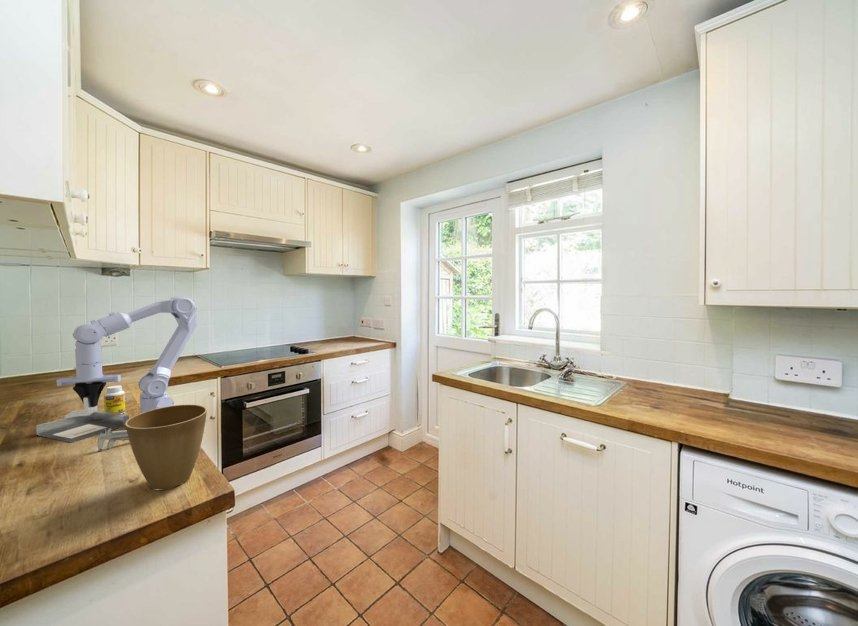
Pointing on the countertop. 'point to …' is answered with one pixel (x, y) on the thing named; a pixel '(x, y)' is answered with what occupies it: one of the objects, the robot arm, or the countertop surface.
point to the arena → (81, 426)
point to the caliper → (111, 438)
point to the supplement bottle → (114, 400)
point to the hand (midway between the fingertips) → (91, 406)
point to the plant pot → (167, 443)
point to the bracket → (85, 411)
